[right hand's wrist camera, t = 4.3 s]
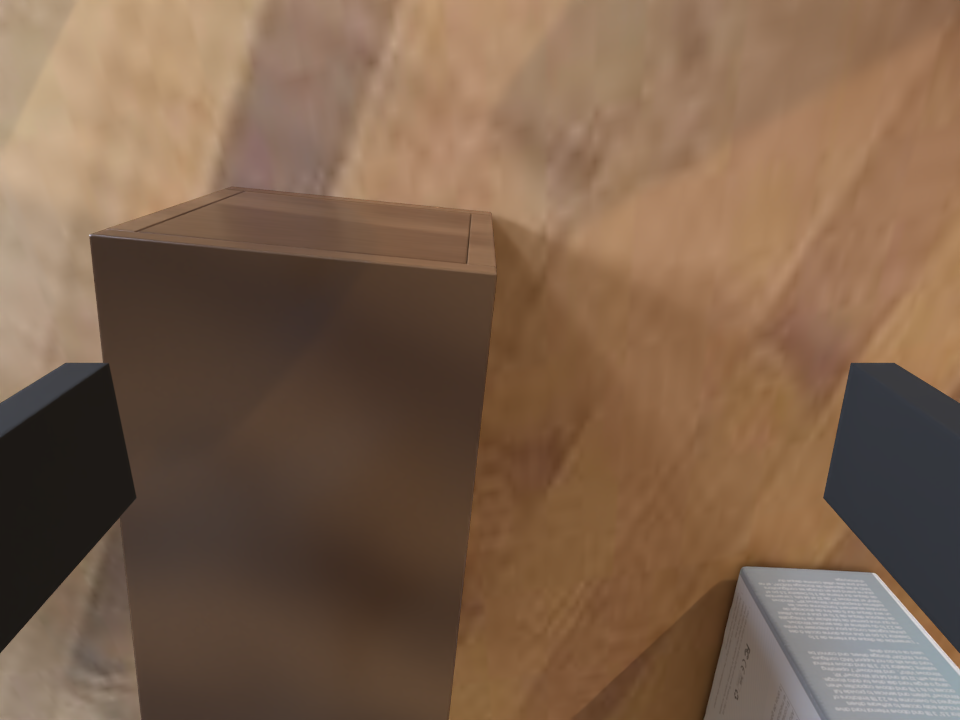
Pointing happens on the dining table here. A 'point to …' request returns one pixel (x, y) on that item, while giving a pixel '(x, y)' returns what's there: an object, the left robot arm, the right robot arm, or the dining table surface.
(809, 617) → the hard drive box
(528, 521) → the dining table surface
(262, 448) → the cabinet
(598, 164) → the dining table surface
